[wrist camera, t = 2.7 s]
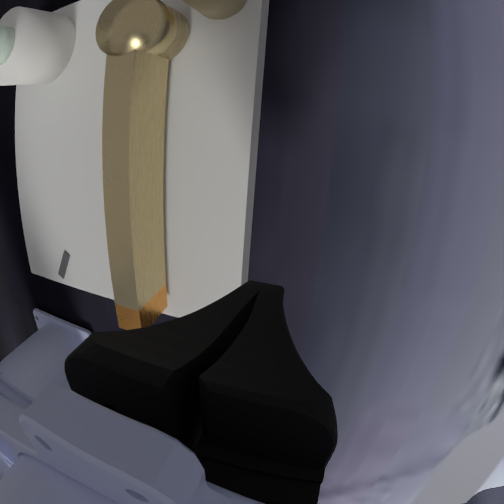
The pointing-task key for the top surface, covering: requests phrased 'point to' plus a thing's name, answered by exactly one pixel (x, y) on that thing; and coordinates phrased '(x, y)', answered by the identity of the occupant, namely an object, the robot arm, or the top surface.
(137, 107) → the adjusting lever
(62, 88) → the base
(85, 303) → the top surface
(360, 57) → the top surface
